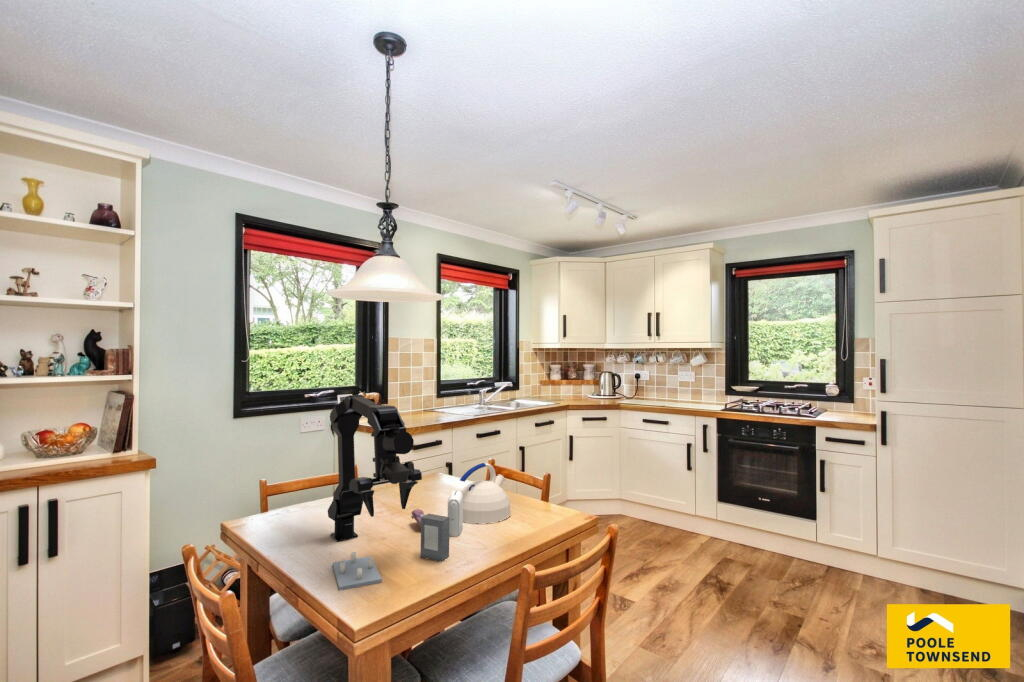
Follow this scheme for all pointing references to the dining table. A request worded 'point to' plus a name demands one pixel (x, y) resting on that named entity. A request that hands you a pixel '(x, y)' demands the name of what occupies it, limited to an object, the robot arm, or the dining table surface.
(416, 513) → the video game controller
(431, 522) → the block
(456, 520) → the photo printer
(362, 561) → the grey peg board
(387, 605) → the dining table surface
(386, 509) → the dining table surface
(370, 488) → the robot arm
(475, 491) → the kettle
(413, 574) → the dining table surface
